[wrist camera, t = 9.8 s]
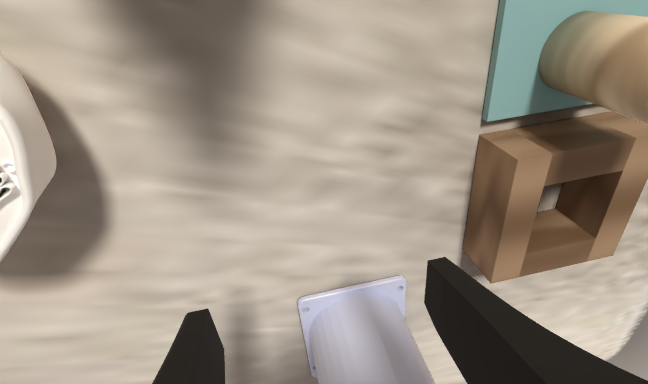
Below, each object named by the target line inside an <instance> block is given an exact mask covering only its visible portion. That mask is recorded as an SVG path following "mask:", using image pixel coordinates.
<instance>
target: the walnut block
mask: <svg viewBox="0 0 648 384" xmlns="http://www.w3.org/2000/svg"><path fill="white" fill-rule="evenodd" d="M647 179H648V124H646V123H643V122H640V121H637V120H635V119H632V118H629V117H626V116H624V115H621V114H618V113H615V112H613V111H612V112H606V113H601V114H595V115H589V116H584V117H578V118H572V119H567V120H561V121H555V122H550V123H544V124H538V125H533V126H527V127H521V128H516V129H510V130H504V131H498V132H493V133H487V134H481V135H480V136H479V143H478V150H477V156H476V163H475V170H474V176H473V183H472V190H471V197H470V203H469V210H468V217H467V223H466V230H465V237H464V243H463V250H464V251H465V252H466V254H467V255H468V256H469V257H470V259H471V260H472V261H473V262H474V264H475V265H476V266H477V267H478V268H479V270H480V271H481V272H482V273H483V275H484V276H485V277H486V278H487V279H488V281H489V282H490V283H495V282H500V281H504V280H508V279H513V278H517V277H521V276H526V275H530V274H534V273H539V272H543V271H548V270H552V269H556V268H561V267H565V266H569V265H574V264H578V263H582V262H587V261H591V260H595V259H600V258H604V257H608V256H613V254H614V252H615V250H616V248H617V245H618V243H619V241H620V239H621V236H622V234H623V232H624V230H625V227H626V225H627V223H628V221H629V219H630V216H631V214H632V212H633V210H634V207H635V205H636V203H637V201H638V199H639V196H640V194H641V192H642V190H643V187H644V185H645V183H646V181H647ZM562 182H564V183H563V186H562V190H561V193H560V196H559V199H558V203H557V206H556V209H552V210H547V211H542V212H537V209H538V206H539V202H540V199H541V195H542V191H543V188H544V186H547V185H552V184H557V183H562Z"/></svg>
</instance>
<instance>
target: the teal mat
mask: <svg viewBox="0 0 648 384" xmlns="http://www.w3.org/2000/svg"><path fill="white" fill-rule="evenodd" d="M582 11H596V12H606V13H615V14H625V15H635V16H644V17H648V0H500V2H499V9H498V16H497V23H496V29H495V36H494V43H493V49H492V56H491V63H490V69H489V76H488V83H487V89H486V96H485V103H484V110H483V116H482V119H483V120H485V121H487V122H489V121H495V120H501V119H506V118H512V117H518V116H524V115H530V114H535V113H541V112H547V111H553V110H559V109H565V108H570V107H576V106H582V105H588V104H593V103H590V102H588V101H585V100H582V99H579V98H577V97H574V96H571V95H568V94H566V93H563V92H560V91H557V90H555V89H552V88H550V87H548V86H546V85H545V84H544V83H543V81H542V80H541V77H540V74H539V59H540V55H541V51H542V49H543V46H544V44H545V42H546V40H547V39H548V37H549V36H550V34H551V33H552V32H553V30H554V29H555V28H556V27H557V26H558V25H559V24H560V23H561V22H562V21H564V20H565V19H566V18H568V17H569V16H571V15H573V14H575V13H578V12H582Z"/></svg>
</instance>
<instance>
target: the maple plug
mask: <svg viewBox="0 0 648 384" xmlns="http://www.w3.org/2000/svg"><path fill="white" fill-rule="evenodd" d="M539 74H540V77H541V80H542V81H543V83H544V84H545V85H546V86H548V87H550V88H552V89H555V90H557V91H560V92H563V93H566V94H568V95H571V96H574V97H577V98H579V99H582V100H585V101H588V102H590V103H593V104H596V105H599V106H601V107H604V108H607V109H609V110H612V111H615V112H618V113H620V114H623V115H626V116H629V117H631V118H634V119H637V120H640V121H642V122H645V123H648V17H644V16H635V15H625V14H615V13H606V12H596V11H582V12H578V13H575V14H573V15H571V16H569V17H568V18H566V19H565V20H564V21H562V22H561V23H560V24H559V25H558V26H557V27H556V28H555V29H554V30H553V32H552V33H551V34H550V36H549V37H548V39H547V40H546V42H545V44H544V46H543V49H542V51H541V55H540V59H539Z"/></svg>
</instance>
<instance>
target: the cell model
mask: <svg viewBox="0 0 648 384" xmlns="http://www.w3.org/2000/svg"><path fill="white" fill-rule="evenodd" d="M56 163H57V162H56V155H55V150H54V146H53V143H52V140H51V138H50V135H49V132H48V130H47V128H46V125H45V123H44V121H43V119H42V116H41V114H40V112H39V110H38V107H37V105H36V103H35V101H34V99H33V96H32V94H31V92H30V90H29V88H28V86H27V84H26V82H25V81H24V79H23V77H22V76H21V74H20V73H19V72H18V70H17V69H16V68H15V67H14V65H13V64H12V63H11V62H10V61H9V60H8V59H7V58H6V57H5V56H3V55H2V54H1V53H0V262H1V261H2V260H3V258H4V257H5V256H6V254H7V253H8V252H9V250H10V249H11V247H12V246H13V244H14V243H15V241H16V240H17V238H18V236H19V235H20V233H21V232H22V230H23V228H24V227H25V225H26V223H27V221H28V219H29V217H30V215H31V212H32V210H33V208H34V206H35V204H36V202H37V200H38V198H39V197H40V195H41V194H42V192H43V191H44V189H45V188H46V186H47V185H48V184H49V182H50V181H51V179H52V178H53V176H54V174H55V171H56Z"/></svg>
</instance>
